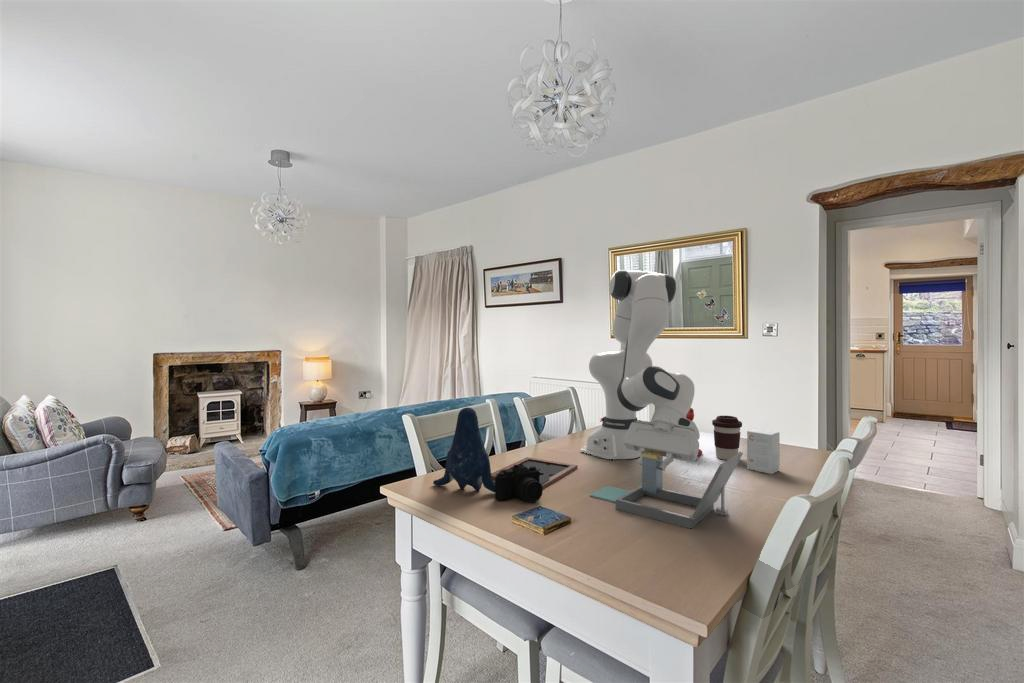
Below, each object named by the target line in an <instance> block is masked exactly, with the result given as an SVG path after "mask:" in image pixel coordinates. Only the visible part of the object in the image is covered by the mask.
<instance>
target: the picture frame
mask: <svg viewBox="0 0 1024 683" xmlns="http://www.w3.org/2000/svg"><path fill="white" fill-rule="evenodd" d="M520 463H521V464H523V465H524V466H525V467H527V468H528V469H529V468H530V467H531V466H535V467H536V469H537V470H539V472H540V473H543V474H544V475H540V484H541V485H542V489H543V490H544V489H546V488H547V487H549V486H551V485H553V484H555V483H556V482H557V480H558V481H559V480H561V479H563V478H565V477H566V476H567V474H568V475H569V474H571V473H573V472H574V471H576V470H578V469H577V468H578V464H572V463H565V462H560V461H559V462H558V461H553V460H545V459H540V458H533V457H528V456H527V457H525V458H522V459H520V460H518V461H515V462H514V463H511V464H509V465H507V466H504V467H502V468H500V469H499V470H496V471H493V472H491V476H492V479H493V481H495V477H496V476H497V475H498V474H499V472H500V471H501V470H505V469H508V470H512V469H513V468H514V465H515V464H516V465H519V464H520ZM575 469H576V470H575ZM572 471H573V472H572ZM570 472H571V473H570ZM562 477H563V478H562Z"/></svg>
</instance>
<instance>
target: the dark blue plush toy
mask: <svg viewBox="0 0 1024 683" xmlns="http://www.w3.org/2000/svg"><path fill="white" fill-rule="evenodd" d="M478 419H479V418H478V416H477V412H476V410H475V409H473V408H472V407H464V408H462V409H461V410H460V411H459V412H458V415H457V419H456V420H457V421H456V425H455V430H454V435H453V438H452V444H451V447H450V449H449V450H448V451H447V454H446V455H447V456H446V459H445V460H446V461H445V470H444V475H443V476H442V477H441V478H438V479H435V480H433V485H435V486H445V485H448V484H450V483H451V482H453V481H455V482H456V483H457V485H458V487H459V489H461V490H463V488H464V489H465V488H466V487H467V486H470V487H472V488H473V489H474V490H475V491H476V492H479V491H480V490H481V489H482V485H483V488H485V489H487V491H488V490H489V491H490V492H493V493H494V494H495V480H493V479H492V476H491V473H492V470H491V462H490V458H489V454H488V452H487V450H486V448H485V445H484V444H485V443H484V441H483V439H482V435H481V431H480V427H479V420H478Z"/></svg>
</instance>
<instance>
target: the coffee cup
mask: <svg viewBox="0 0 1024 683" xmlns="http://www.w3.org/2000/svg"><path fill="white" fill-rule="evenodd" d="M711 424H712V426H713V439H714V447H715V457H716V458H718V459H719V460H723V461H727V460H728V459H730V458H731V457H733V456H734V455H736V454H737V453H739V448H740V444H741V442H740V440H741V428H742V427H743V422H742V421H740V420H739V419H738V417H737V416H734V415H733V416H732V415H717V416H716V418H715V419H713V420H712V421H711Z"/></svg>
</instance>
